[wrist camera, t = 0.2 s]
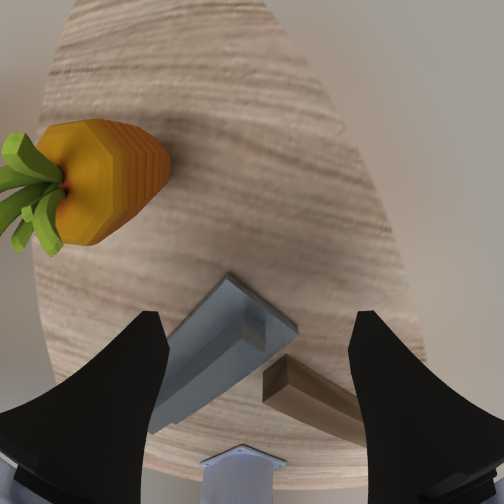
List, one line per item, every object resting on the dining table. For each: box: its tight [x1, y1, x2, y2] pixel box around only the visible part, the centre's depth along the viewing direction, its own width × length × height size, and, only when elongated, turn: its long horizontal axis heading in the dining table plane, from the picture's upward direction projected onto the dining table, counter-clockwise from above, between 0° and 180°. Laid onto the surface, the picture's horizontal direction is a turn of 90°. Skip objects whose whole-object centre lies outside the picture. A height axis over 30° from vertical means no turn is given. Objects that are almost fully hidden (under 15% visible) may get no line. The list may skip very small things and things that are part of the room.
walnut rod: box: [262, 354, 367, 448], centre depth 24 cm, size 3×18×4 cm, turn 50°
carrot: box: [0, 119, 171, 257], centre depth 11 cm, size 5×5×15 cm
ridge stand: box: [147, 272, 299, 435], centre depth 22 cm, size 18×7×5 cm, turn 139°
